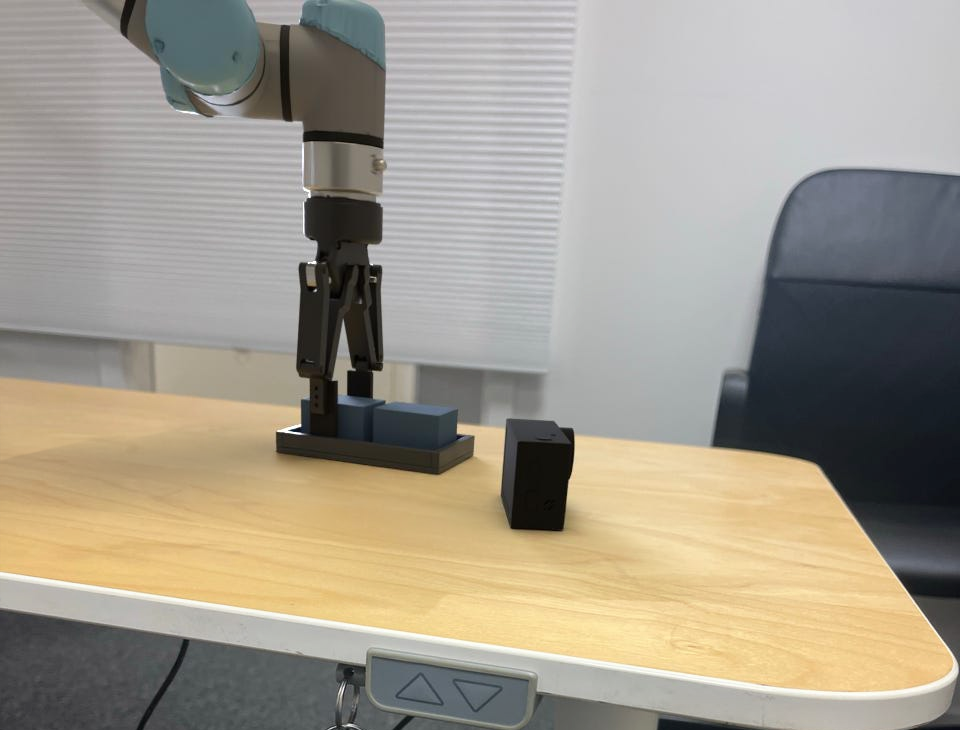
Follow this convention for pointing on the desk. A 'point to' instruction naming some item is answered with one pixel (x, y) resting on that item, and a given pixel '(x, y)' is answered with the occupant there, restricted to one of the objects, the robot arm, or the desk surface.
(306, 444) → the tray
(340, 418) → the blue-grey rectangular block
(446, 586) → the desk surface
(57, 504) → the desk surface
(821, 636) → the desk surface
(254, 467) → the desk surface
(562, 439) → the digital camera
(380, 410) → the blue block
